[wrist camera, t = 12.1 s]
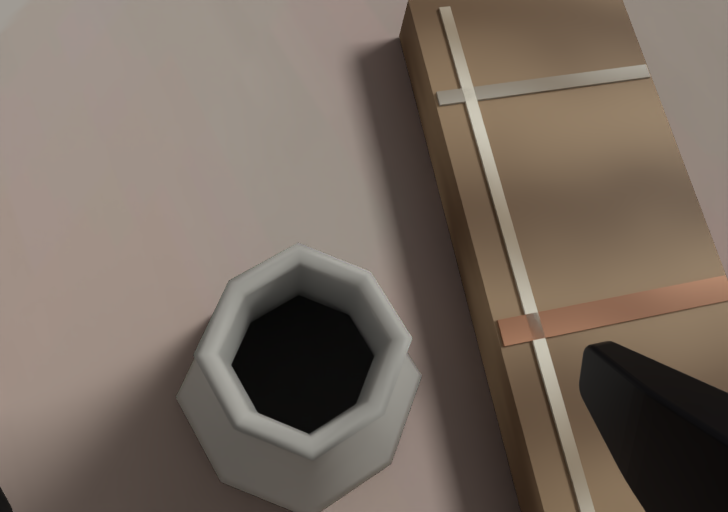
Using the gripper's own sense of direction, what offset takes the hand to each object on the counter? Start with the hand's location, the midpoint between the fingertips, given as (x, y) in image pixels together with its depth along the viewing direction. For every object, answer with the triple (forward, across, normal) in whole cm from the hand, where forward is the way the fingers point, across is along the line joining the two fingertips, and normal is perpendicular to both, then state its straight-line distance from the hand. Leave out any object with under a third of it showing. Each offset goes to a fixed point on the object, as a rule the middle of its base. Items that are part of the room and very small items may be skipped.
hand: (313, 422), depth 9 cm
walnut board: (+10, -10, +4) cm, 15 cm away
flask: (+8, 0, +6) cm, 10 cm away
